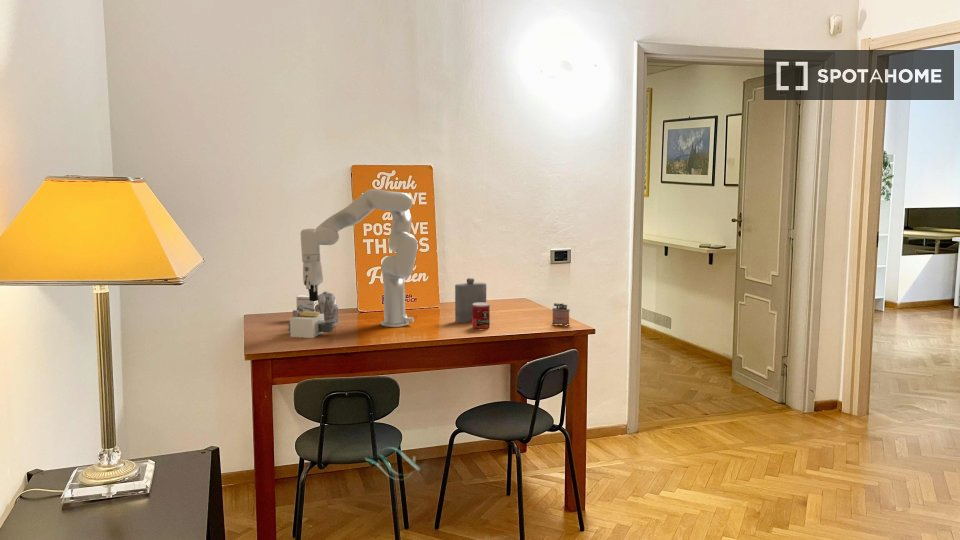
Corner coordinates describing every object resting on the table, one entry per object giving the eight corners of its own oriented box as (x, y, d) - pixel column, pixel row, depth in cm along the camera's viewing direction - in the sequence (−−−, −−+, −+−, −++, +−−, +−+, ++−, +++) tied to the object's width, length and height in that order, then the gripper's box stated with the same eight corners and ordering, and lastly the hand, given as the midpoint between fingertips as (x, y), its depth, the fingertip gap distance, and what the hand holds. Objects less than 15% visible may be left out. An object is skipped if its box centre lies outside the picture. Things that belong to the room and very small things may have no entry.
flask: (483, 318, 353) (483, 277, 350) (487, 321, 347) (487, 278, 345) (453, 320, 348) (453, 278, 345) (457, 323, 342) (456, 280, 340)
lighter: (570, 325, 339) (570, 303, 337) (568, 326, 336) (568, 304, 334) (553, 323, 342) (553, 302, 341) (551, 324, 339) (551, 303, 338)
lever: (320, 314, 320) (320, 311, 320) (315, 316, 316) (315, 313, 315) (299, 313, 322) (299, 310, 322) (294, 315, 318) (294, 311, 318)
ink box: (296, 321, 347) (295, 296, 345) (300, 319, 352) (299, 294, 350) (314, 321, 346) (313, 296, 344) (317, 319, 351) (317, 295, 349)
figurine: (338, 322, 344) (337, 290, 342) (339, 328, 333) (338, 294, 331) (315, 323, 342) (314, 291, 340) (315, 329, 331) (314, 295, 329)
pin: (333, 331, 321) (333, 320, 320) (327, 334, 315) (327, 323, 314) (293, 329, 324) (293, 318, 324) (287, 332, 319) (286, 321, 318)
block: (324, 331, 325) (323, 307, 323) (312, 338, 313) (311, 312, 312) (303, 330, 327) (302, 306, 325) (290, 336, 315) (289, 311, 314)
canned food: (477, 330, 327) (477, 306, 326) (469, 327, 334) (469, 303, 333) (492, 328, 331) (492, 304, 329) (484, 325, 338) (484, 301, 336)
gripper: (311, 260, 307) (314, 304, 310) (326, 255, 321) (329, 297, 324) (294, 260, 309) (297, 304, 311) (310, 255, 323) (313, 297, 326)
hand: (313, 300), depth 318 cm, fingers closed
